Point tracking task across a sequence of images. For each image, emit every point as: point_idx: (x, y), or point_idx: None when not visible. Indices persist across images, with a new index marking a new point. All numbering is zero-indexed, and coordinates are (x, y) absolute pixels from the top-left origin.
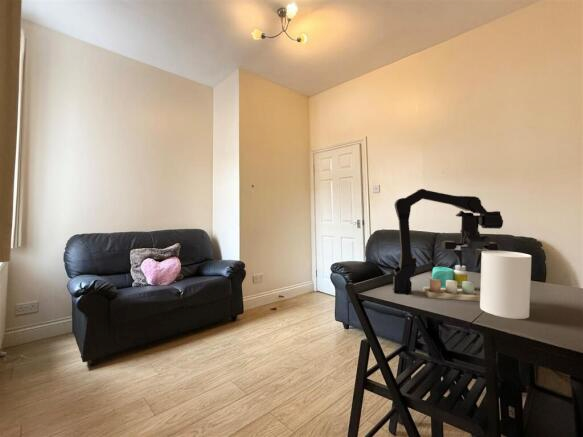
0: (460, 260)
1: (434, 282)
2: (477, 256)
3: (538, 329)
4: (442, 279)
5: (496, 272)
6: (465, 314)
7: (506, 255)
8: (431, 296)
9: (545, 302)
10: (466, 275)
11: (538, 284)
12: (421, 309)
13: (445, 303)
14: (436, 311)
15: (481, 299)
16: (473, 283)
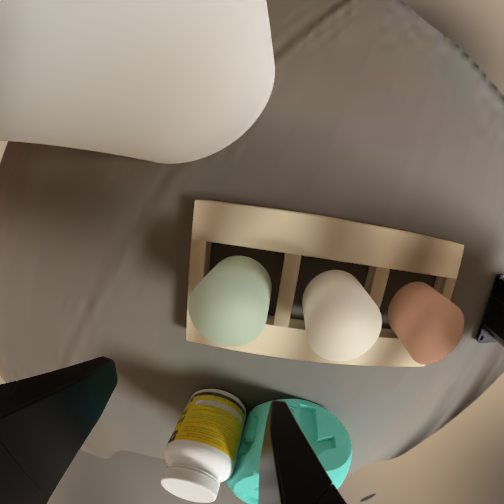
0: (303, 463)
1: (453, 304)
2: (24, 443)
3: None
4: (306, 434)
5: None
6: (373, 27)
7: None
8: (447, 240)
9: (15, 231)
10: (175, 436)
11: None
12: (500, 95)
13: (416, 150)
14: (464, 67)
15: (271, 58)
16: (201, 280)
